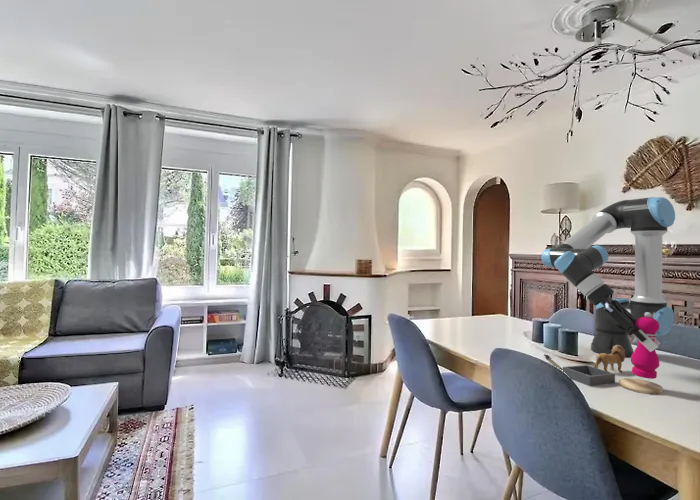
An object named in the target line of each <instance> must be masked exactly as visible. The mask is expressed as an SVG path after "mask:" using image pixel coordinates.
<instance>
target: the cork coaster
mask: <svg viewBox="0 0 700 500" xmlns="http://www.w3.org/2000/svg"><path fill="white" fill-rule="evenodd" d="M618 384H619V386H620V387H621V388H623V389H626V390H628V391H632V392H636V393H639V394H644V395H645V394H646V395H661V394H663V392H664V391H663V389H664V388H663V386H661V385H660V384H658V383H656V382H652V381H650V380H645V379H638V378H631V377H629V378H620V379H619V382H618Z"/></svg>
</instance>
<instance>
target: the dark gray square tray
mask: <svg viewBox="0 0 700 500" xmlns="http://www.w3.org/2000/svg"><path fill="white" fill-rule="evenodd" d="M562 369H563V372H565V373H566V374H567V375H568V376H569V377H570V378H571V379H570V378H569V379H570V380H572V381H576V382H578V383H580V384H583V385H586V386H589V387H592V386H602V385H603V386H604V385H613V384H615V383H616V373H613V372H611V371H608V370H607V371H608V372H607V371H605V370H604V369H600V368H599V367H598V368H595V367H594V366H591V365H588V364H581V365H572V366H571V365H569V366H562ZM563 372H562V373H563Z"/></svg>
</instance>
